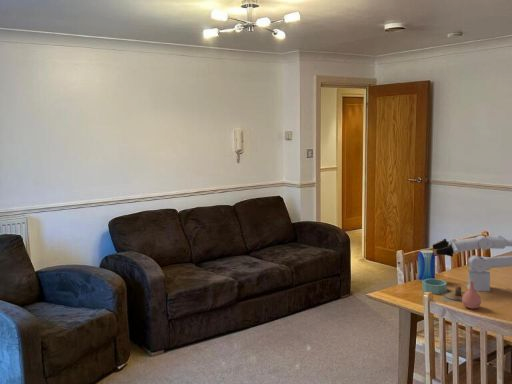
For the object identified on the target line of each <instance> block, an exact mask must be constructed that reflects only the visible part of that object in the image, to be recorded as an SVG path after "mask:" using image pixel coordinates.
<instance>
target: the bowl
mask: <svg viewBox="0 0 512 384" xmlns="http://www.w3.org/2000/svg"><path fill="white" fill-rule="evenodd" d="M421 283H422V284H421V286H422V289H421V290H422V292H424V293H426V292H432V293H433V294H432V295H442V294H443V293H445V292H448V291H447V290H448V288H447V287H448V286H447V285H448V283H447V281H446V280H444V279H440V278H435V279H425V280H423V281H422V282H421Z"/></svg>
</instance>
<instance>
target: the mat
mask: <svg viewBox="0 0 512 384" xmlns="http://www.w3.org/2000/svg"><path fill="white" fill-rule="evenodd" d="M445 293H446V292H445ZM445 293H443V294H441V297H442V300H443V302H449V303H463V302H462V301H453V300H449V299H447V298H446V297H445Z"/></svg>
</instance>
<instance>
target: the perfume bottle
mask: <svg viewBox="0 0 512 384" xmlns="http://www.w3.org/2000/svg"><path fill="white" fill-rule="evenodd" d="M461 303H462V304H463V306H464V308H465V307H466V308H469V309H479V308H480V306H481V304H482V299H481V296H480V294H478V292H477V291H475V289H474V282H470V288H469V289H468V288H467V290H466V292H465V294H464V295H463V298H462V302H461Z"/></svg>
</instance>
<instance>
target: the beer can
mask: <svg viewBox="0 0 512 384" xmlns="http://www.w3.org/2000/svg"><path fill="white" fill-rule="evenodd" d="M425 279H436V255H435V253H434V251H433V250H431V249H421V250H419V252H418V254H417V280H418V281H419V282H421V283H422V281H423V280H425Z"/></svg>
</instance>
